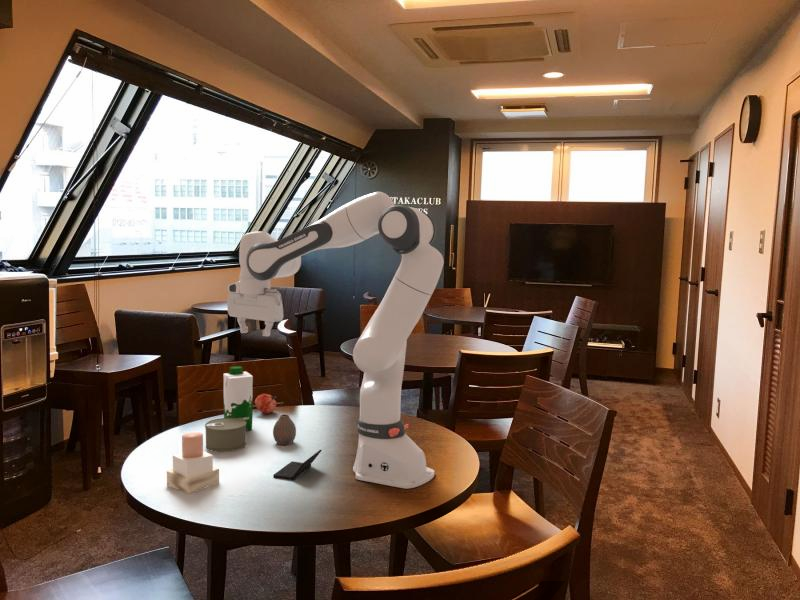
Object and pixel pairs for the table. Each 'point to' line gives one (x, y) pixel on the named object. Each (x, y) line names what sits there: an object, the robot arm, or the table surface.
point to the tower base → (192, 480)
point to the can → (225, 434)
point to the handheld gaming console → (295, 469)
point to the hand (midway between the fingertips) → (255, 334)
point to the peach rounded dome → (192, 445)
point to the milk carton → (238, 395)
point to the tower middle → (192, 464)
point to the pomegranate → (265, 403)
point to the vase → (284, 430)
